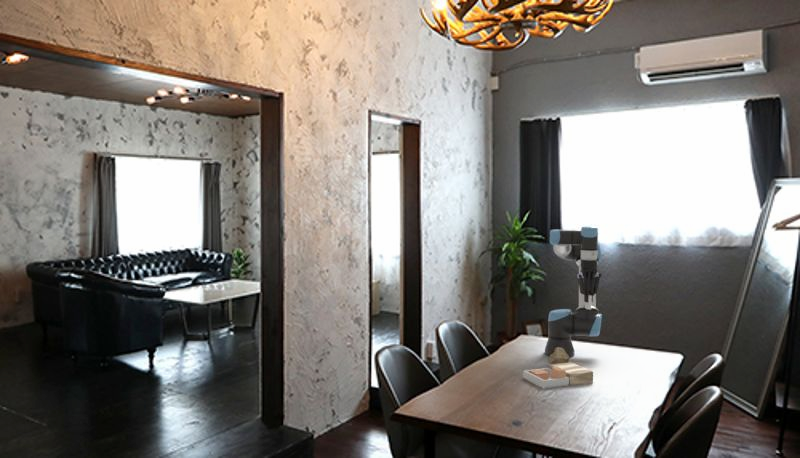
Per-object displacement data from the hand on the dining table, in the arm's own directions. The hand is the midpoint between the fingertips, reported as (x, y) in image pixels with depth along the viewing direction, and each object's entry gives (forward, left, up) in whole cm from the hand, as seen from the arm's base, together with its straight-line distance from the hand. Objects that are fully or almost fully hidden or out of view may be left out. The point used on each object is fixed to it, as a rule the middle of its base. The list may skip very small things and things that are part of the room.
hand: (588, 308), depth 272 cm
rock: (-7, -13, -30) cm, 33 cm away
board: (+9, -16, -29) cm, 35 cm away
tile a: (+5, -30, -26) cm, 40 cm away
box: (+9, -29, -29) cm, 42 cm away
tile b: (+13, -24, -26) cm, 38 cm away
